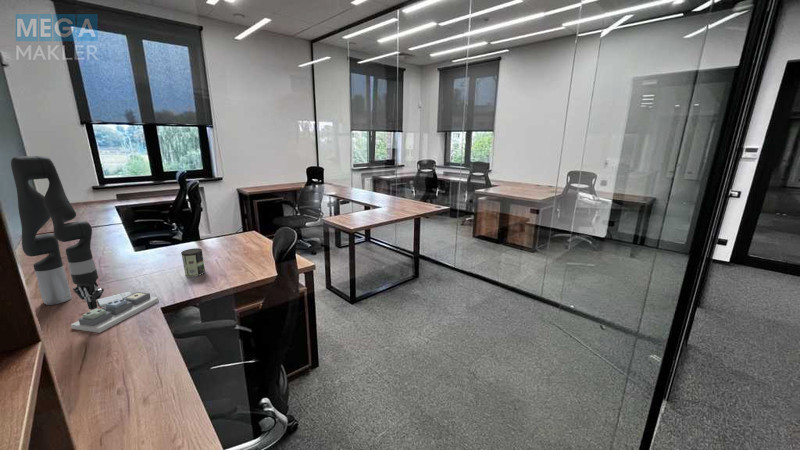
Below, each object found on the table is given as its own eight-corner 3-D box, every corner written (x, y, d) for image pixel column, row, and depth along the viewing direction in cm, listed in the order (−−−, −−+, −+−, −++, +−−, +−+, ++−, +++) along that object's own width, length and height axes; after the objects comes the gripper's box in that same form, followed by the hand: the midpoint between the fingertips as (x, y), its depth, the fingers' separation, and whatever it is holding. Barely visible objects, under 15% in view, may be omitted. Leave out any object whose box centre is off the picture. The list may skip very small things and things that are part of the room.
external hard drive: (97, 302, 155) (130, 293, 164) (100, 308, 150) (134, 298, 159) (97, 299, 155) (129, 290, 164) (99, 304, 149) (133, 295, 159)
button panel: (71, 328, 133) (69, 319, 131) (134, 298, 158) (133, 290, 157) (99, 332, 130) (97, 323, 129) (158, 301, 156) (157, 292, 155)
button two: (84, 319, 133) (82, 314, 132) (97, 313, 138) (95, 308, 137) (93, 321, 132) (92, 315, 131) (106, 315, 137) (105, 309, 136)
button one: (127, 302, 150) (126, 297, 150) (137, 297, 155) (136, 292, 154) (136, 303, 149) (135, 298, 149) (146, 298, 154) (145, 293, 154)
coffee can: (202, 268, 195) (198, 246, 192) (207, 273, 189) (204, 251, 185) (182, 273, 188) (178, 250, 184) (187, 278, 181) (183, 255, 178)
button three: (106, 309, 141) (105, 303, 141) (118, 303, 146) (117, 298, 145) (116, 310, 141) (114, 304, 140) (127, 304, 145) (126, 299, 145)
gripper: (59, 272, 127) (70, 311, 131) (86, 275, 125) (96, 314, 129) (80, 265, 134) (90, 302, 138) (106, 268, 132) (115, 305, 136)
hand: (93, 308), depth 134 cm, fingers closed
